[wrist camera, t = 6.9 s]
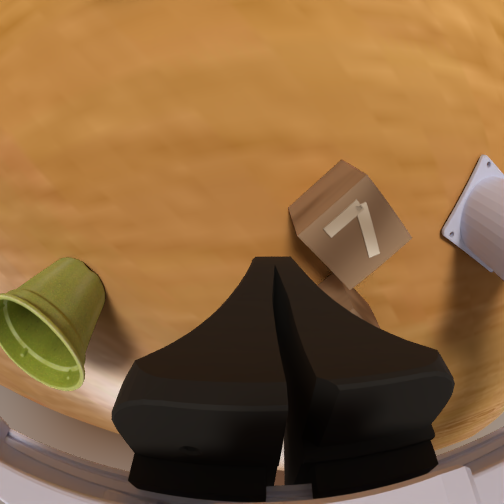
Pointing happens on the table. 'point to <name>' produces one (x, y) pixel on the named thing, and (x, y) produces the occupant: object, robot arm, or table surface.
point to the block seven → (348, 223)
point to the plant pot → (52, 323)
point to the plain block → (348, 298)
